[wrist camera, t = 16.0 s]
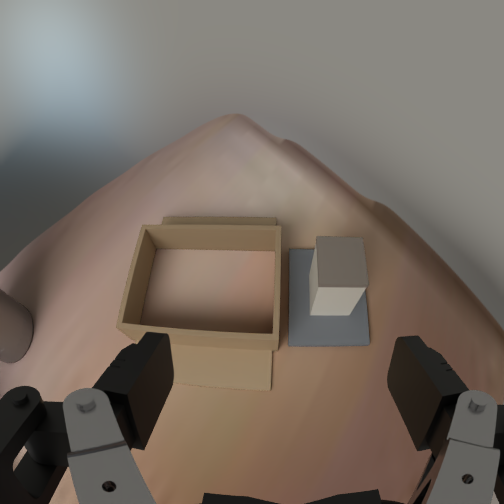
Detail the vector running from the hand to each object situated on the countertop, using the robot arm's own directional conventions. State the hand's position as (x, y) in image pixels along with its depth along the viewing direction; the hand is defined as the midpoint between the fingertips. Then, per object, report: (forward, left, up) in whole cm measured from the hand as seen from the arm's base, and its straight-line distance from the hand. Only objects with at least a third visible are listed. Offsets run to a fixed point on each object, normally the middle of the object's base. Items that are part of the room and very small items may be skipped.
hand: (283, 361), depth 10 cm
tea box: (+6, +12, -22) cm, 26 cm away
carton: (-8, +13, -23) cm, 27 cm away
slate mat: (+6, +13, -23) cm, 27 cm away
